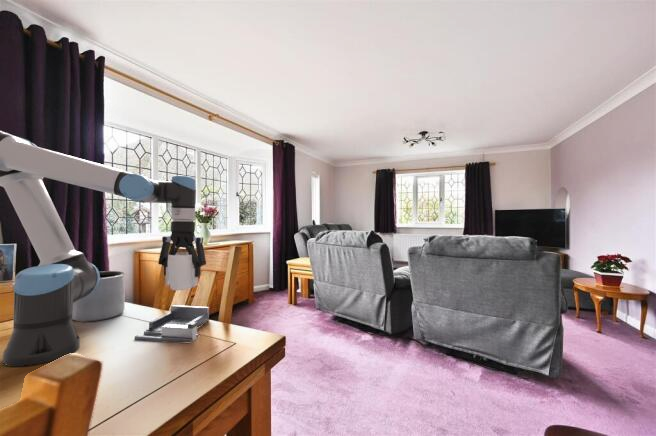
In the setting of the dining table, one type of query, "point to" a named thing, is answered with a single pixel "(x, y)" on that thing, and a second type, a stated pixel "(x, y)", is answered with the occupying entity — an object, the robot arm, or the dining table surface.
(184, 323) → the grey rail tray
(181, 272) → the cup
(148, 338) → the guide
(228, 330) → the dining table surface
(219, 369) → the dining table surface
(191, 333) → the grey flat block
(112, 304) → the planter
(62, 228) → the robot arm
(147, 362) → the dining table surface
